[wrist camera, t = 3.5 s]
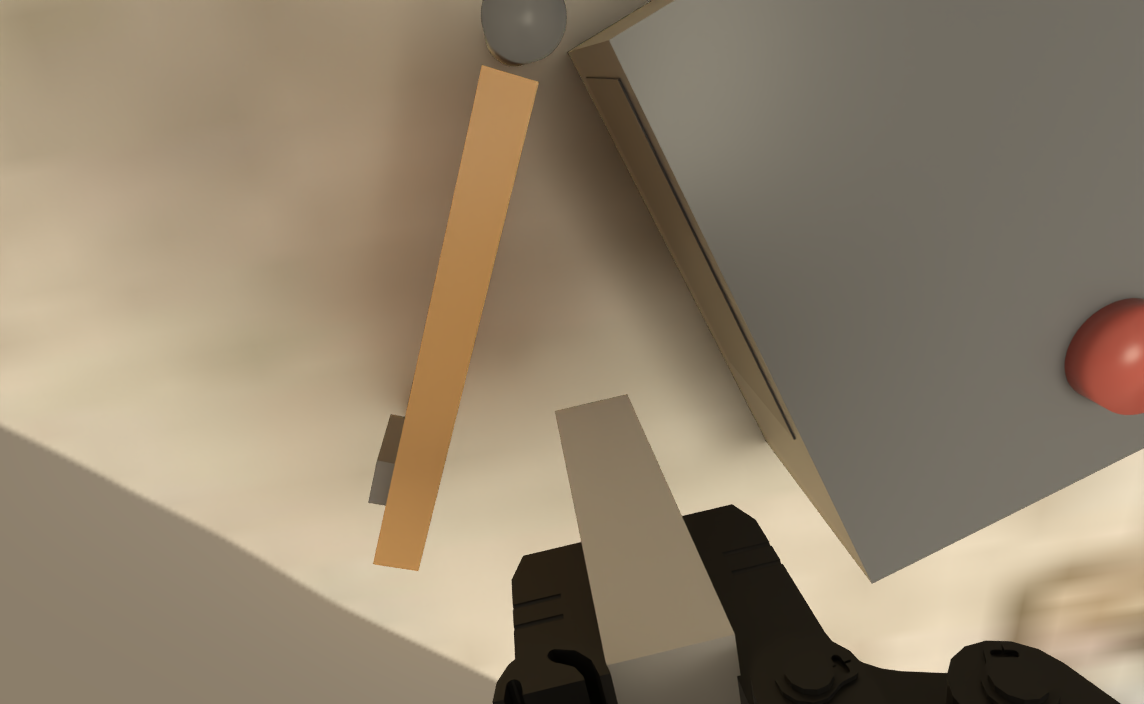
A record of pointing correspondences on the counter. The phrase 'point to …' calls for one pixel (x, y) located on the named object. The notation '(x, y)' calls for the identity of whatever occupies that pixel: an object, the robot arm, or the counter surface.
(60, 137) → the counter surface
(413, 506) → the side door
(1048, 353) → the camera body
